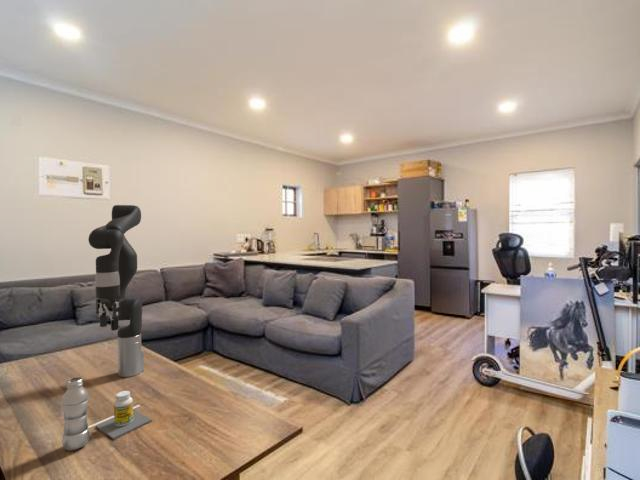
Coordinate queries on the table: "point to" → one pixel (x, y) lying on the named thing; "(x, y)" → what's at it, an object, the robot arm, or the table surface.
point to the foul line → (108, 419)
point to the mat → (118, 431)
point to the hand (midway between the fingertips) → (109, 328)
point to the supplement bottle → (123, 409)
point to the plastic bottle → (75, 415)
